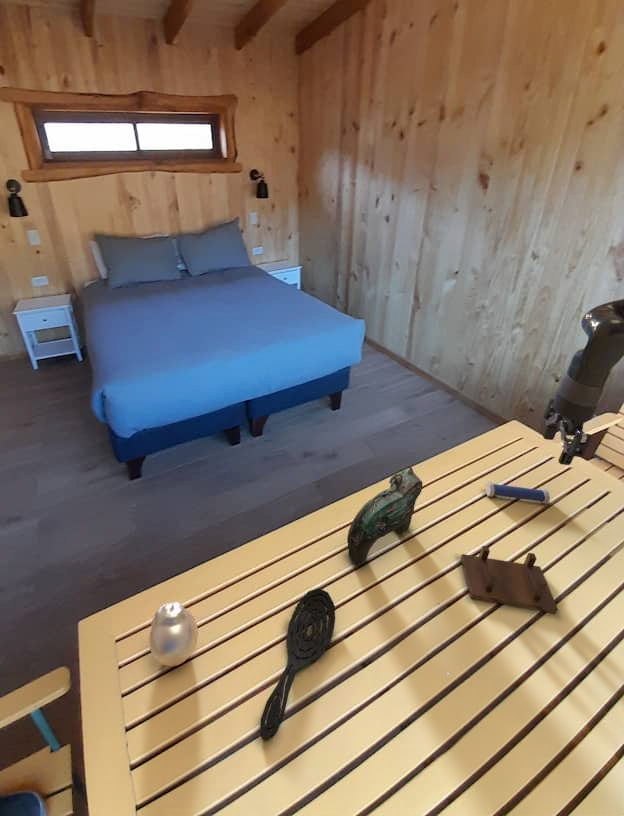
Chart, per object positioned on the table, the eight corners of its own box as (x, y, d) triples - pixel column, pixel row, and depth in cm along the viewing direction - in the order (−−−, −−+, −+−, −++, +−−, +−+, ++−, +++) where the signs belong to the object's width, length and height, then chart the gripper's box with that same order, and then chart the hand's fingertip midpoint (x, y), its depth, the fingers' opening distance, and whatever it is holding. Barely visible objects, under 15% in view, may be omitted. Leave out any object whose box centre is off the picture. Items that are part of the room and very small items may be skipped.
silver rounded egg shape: (203, 619, 80) (198, 589, 76) (196, 675, 72) (190, 646, 67) (158, 619, 81) (151, 589, 76) (146, 676, 72) (137, 646, 68)
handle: (541, 495, 106) (545, 485, 104) (547, 506, 103) (551, 497, 101) (484, 488, 108) (487, 478, 107) (488, 499, 105) (491, 489, 104)
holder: (537, 570, 88) (547, 550, 85) (556, 613, 80) (567, 593, 77) (460, 558, 91) (466, 538, 88) (470, 598, 83) (477, 578, 80)
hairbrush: (241, 715, 65) (306, 577, 83) (242, 724, 67) (305, 587, 85) (286, 750, 61) (343, 598, 80) (286, 759, 63) (342, 608, 81)
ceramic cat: (399, 512, 102) (410, 453, 93) (420, 531, 97) (434, 470, 88) (340, 552, 93) (347, 490, 84) (360, 575, 88) (370, 512, 79)
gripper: (616, 417, 81) (588, 475, 89) (581, 378, 94) (559, 432, 101) (575, 412, 83) (550, 470, 90) (546, 375, 95) (526, 429, 102)
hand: (555, 450), depth 95 cm, fingers open, 8 cm apart
